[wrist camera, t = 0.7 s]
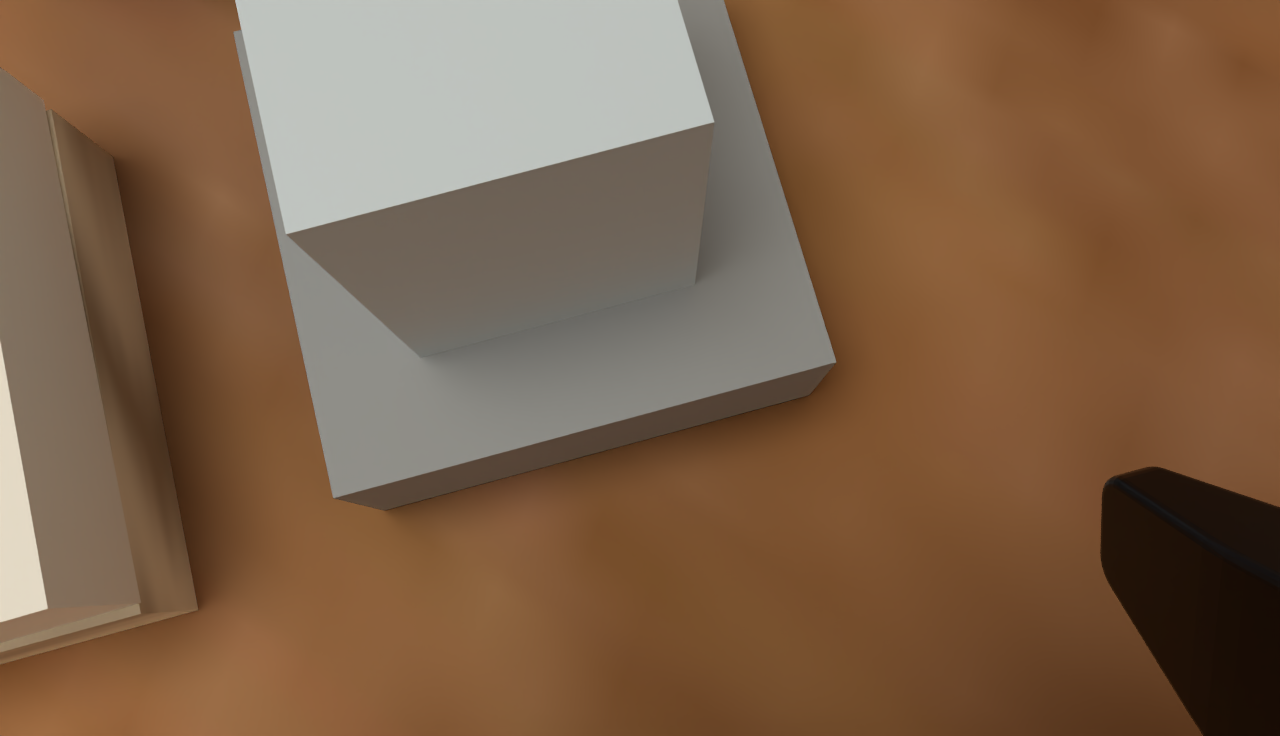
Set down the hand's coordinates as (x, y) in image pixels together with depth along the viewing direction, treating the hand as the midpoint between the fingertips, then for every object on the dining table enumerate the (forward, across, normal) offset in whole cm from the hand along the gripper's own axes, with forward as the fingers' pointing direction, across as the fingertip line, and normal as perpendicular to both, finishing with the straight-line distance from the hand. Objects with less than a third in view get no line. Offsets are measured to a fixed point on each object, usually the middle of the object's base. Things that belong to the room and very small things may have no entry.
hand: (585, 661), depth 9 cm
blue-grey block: (+12, -1, 0) cm, 12 cm away
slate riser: (+15, -1, +2) cm, 15 cm away
